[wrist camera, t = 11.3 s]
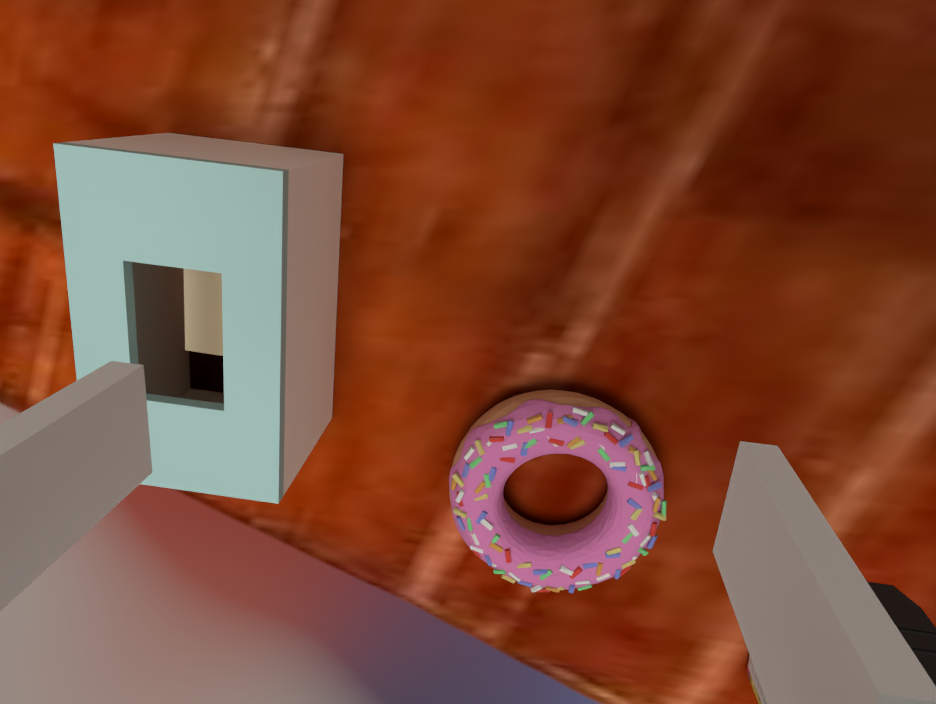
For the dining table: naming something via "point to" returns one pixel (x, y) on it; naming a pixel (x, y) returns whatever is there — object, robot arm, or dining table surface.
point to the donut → (568, 545)
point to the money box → (243, 295)
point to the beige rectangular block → (203, 312)
